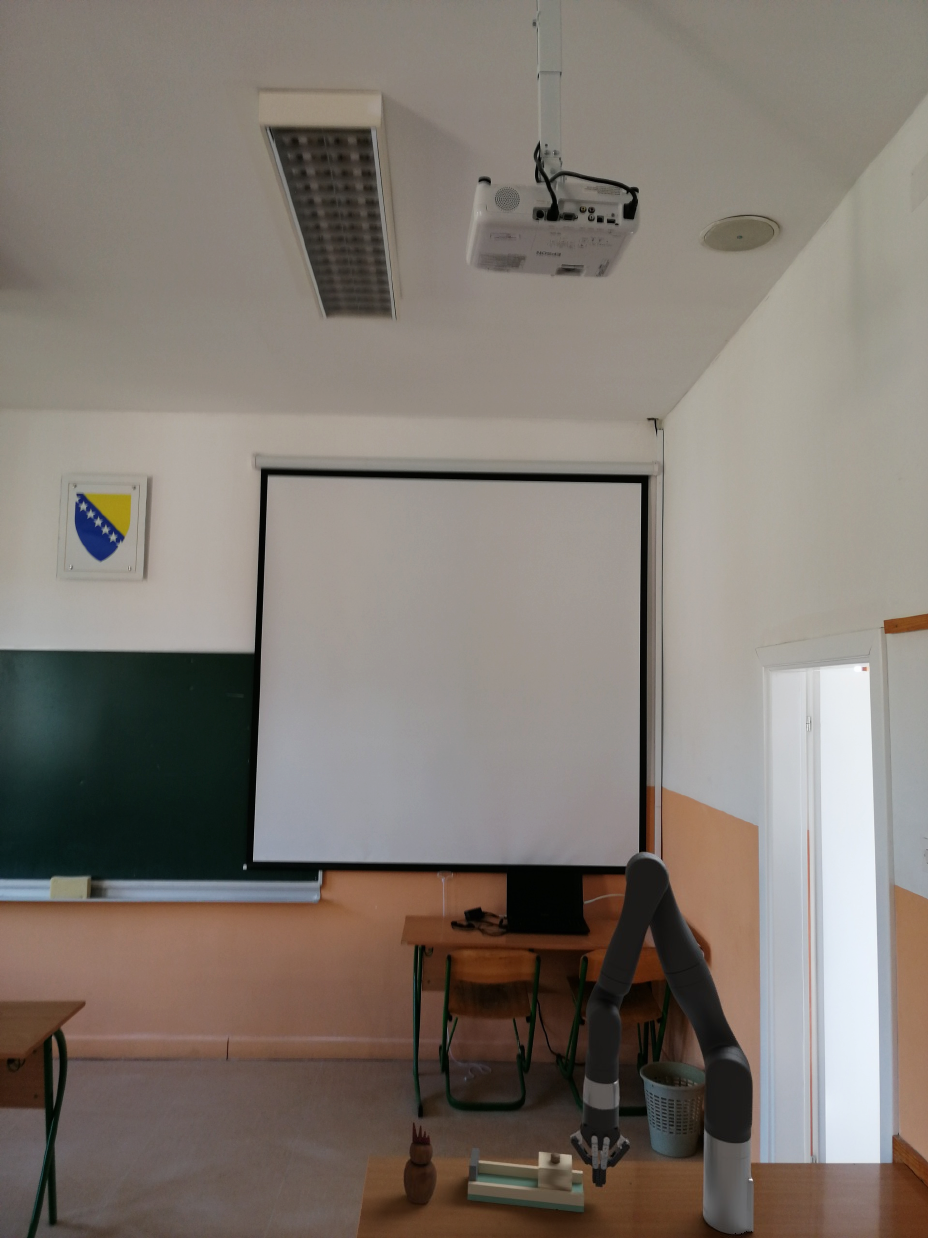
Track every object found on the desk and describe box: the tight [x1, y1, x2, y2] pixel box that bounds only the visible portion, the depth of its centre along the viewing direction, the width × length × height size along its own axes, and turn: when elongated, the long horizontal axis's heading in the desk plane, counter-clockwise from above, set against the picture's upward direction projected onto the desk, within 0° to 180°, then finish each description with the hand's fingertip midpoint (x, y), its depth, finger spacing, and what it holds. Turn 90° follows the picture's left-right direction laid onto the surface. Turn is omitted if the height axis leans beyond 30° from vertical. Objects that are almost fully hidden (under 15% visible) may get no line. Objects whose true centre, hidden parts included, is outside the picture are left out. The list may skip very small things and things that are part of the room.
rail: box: [467, 1147, 585, 1213], centre depth 174 cm, size 24×9×6 cm, turn 84°
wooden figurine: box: [403, 1121, 438, 1205], centre depth 171 cm, size 7×6×15 cm
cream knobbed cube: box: [538, 1151, 573, 1192], centre depth 174 cm, size 7×6×7 cm
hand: (598, 1185), depth 172 cm, fingers closed
